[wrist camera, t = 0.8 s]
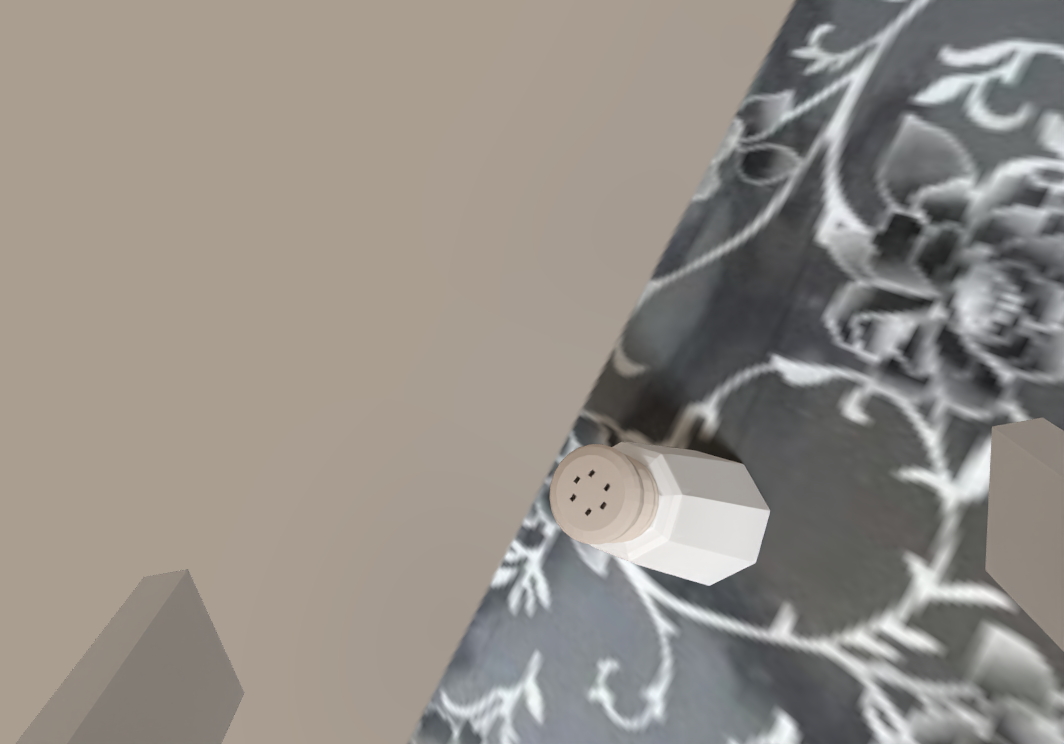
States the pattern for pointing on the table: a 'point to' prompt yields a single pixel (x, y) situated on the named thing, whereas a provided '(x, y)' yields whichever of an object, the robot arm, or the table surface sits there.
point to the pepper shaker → (661, 508)
